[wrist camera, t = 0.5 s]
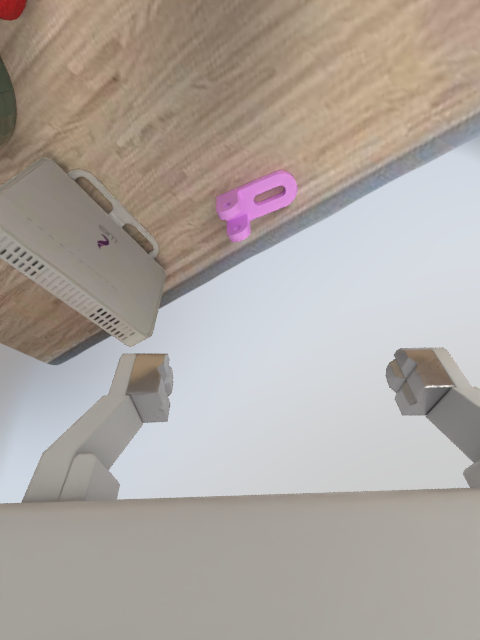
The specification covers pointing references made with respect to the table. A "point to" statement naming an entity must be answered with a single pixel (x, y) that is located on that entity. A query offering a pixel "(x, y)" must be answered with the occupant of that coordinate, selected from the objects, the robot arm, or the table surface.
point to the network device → (81, 249)
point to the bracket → (253, 202)
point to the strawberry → (11, 9)
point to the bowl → (6, 106)
